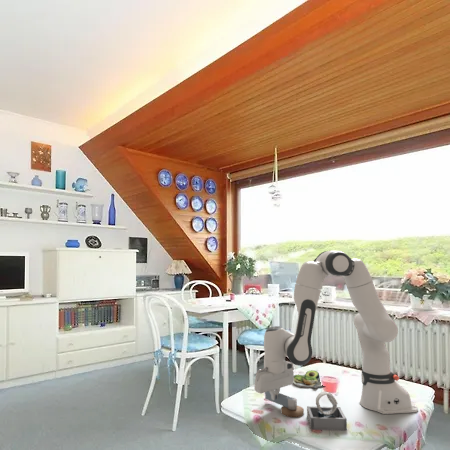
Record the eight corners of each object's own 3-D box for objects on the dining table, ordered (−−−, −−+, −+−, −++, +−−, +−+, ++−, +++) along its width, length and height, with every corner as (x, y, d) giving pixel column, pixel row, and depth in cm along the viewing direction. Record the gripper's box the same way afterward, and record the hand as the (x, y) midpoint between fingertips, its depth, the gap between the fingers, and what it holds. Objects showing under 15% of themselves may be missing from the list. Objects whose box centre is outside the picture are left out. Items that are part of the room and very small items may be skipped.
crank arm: (298, 408, 158) (298, 394, 158) (292, 410, 155) (292, 396, 156) (269, 397, 170) (269, 384, 171) (264, 399, 168) (263, 385, 168)
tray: (340, 417, 153) (340, 407, 153) (346, 430, 142) (346, 419, 142) (307, 416, 154) (306, 406, 154) (311, 429, 143) (310, 418, 143)
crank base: (302, 408, 162) (302, 404, 162) (305, 417, 153) (304, 413, 153) (280, 408, 163) (280, 404, 163) (282, 417, 154) (282, 413, 154)
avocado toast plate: (332, 391, 183) (331, 381, 183) (294, 390, 184) (294, 380, 184) (323, 378, 202) (323, 369, 202) (289, 377, 203) (289, 368, 203)
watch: (340, 424, 145) (339, 394, 146) (320, 426, 143) (319, 396, 144) (333, 418, 150) (332, 389, 151) (314, 419, 149) (313, 390, 150)
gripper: (261, 372, 155) (261, 407, 154) (296, 363, 167) (296, 396, 166) (251, 368, 160) (251, 402, 159) (285, 360, 172) (285, 391, 171)
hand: (274, 399), depth 163 cm, fingers closed
